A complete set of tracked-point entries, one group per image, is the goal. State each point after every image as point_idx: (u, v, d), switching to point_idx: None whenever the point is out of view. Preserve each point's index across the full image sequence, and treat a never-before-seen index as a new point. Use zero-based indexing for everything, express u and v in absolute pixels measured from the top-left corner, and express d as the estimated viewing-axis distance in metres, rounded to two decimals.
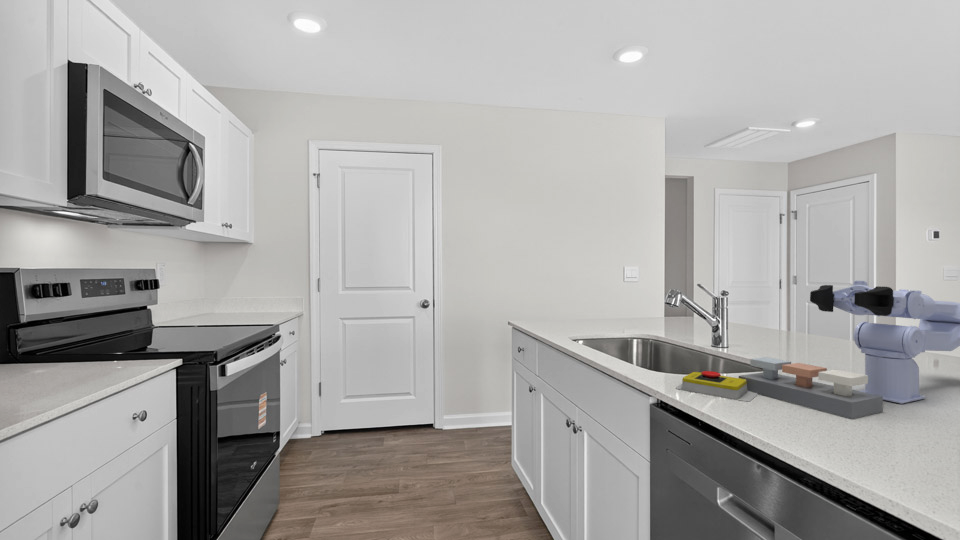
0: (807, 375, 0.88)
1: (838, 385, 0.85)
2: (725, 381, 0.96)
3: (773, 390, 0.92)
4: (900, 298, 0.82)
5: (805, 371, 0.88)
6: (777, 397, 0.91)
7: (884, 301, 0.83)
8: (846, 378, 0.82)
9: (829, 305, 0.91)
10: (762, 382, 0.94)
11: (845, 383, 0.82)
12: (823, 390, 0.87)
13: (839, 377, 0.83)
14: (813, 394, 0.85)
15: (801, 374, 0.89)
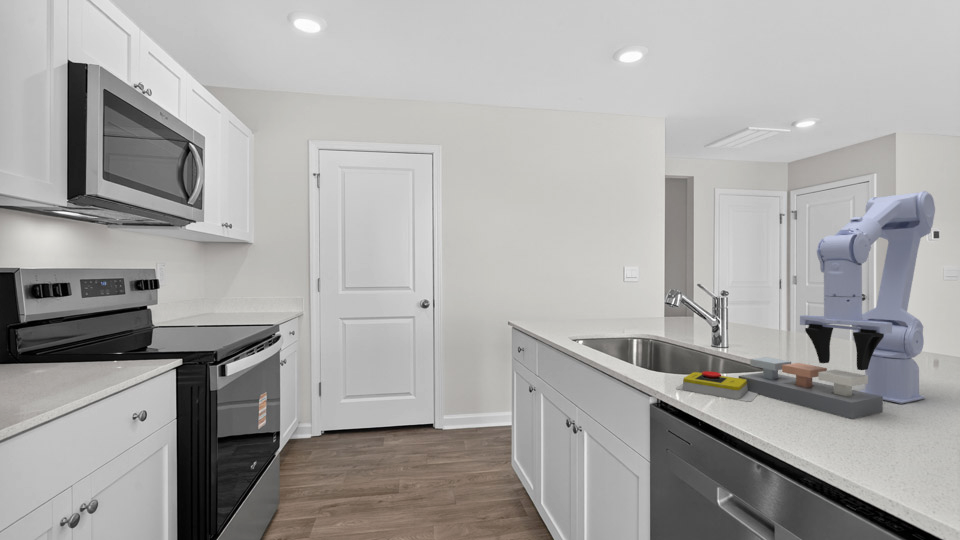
0: (807, 375, 0.88)
1: (838, 385, 0.85)
2: (726, 381, 0.96)
3: (773, 390, 0.92)
4: None
5: (805, 371, 0.88)
6: (777, 397, 0.91)
7: None
8: (846, 378, 0.82)
9: (829, 334, 0.88)
10: (762, 382, 0.94)
11: (845, 383, 0.82)
12: (823, 390, 0.87)
13: (839, 377, 0.83)
14: (813, 394, 0.85)
15: (801, 374, 0.89)
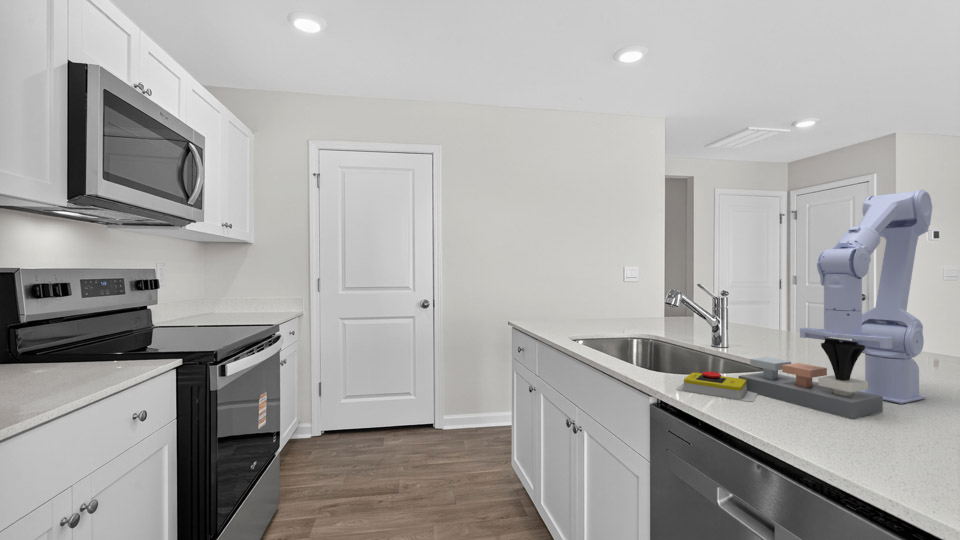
0: (807, 375, 0.88)
1: (838, 391, 0.85)
2: (726, 381, 0.96)
3: (773, 390, 0.92)
4: (886, 348, 0.78)
5: (805, 371, 0.88)
6: (777, 397, 0.91)
7: None
8: (846, 384, 0.82)
9: None
10: (762, 382, 0.94)
11: (845, 389, 0.82)
12: (823, 390, 0.87)
13: (839, 383, 0.83)
14: (813, 394, 0.85)
15: (801, 374, 0.89)
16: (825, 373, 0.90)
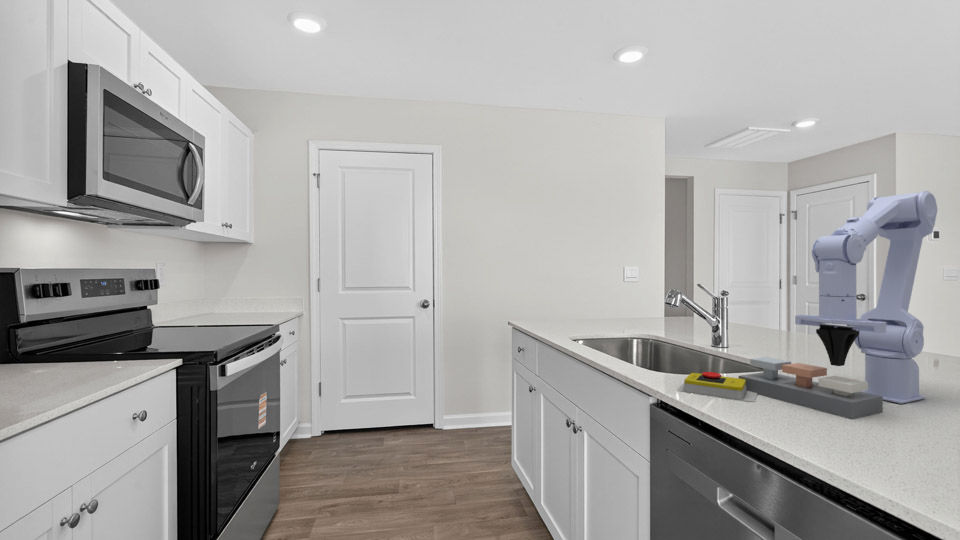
0: (807, 375, 0.88)
1: (838, 391, 0.85)
2: (727, 382, 0.95)
3: (773, 390, 0.92)
4: (880, 332, 0.79)
5: (805, 371, 0.88)
6: (777, 397, 0.91)
7: None
8: (846, 385, 0.82)
9: None
10: (762, 382, 0.94)
11: (845, 390, 0.82)
12: (823, 390, 0.87)
13: (839, 384, 0.83)
14: (813, 394, 0.85)
15: (801, 374, 0.89)
16: (825, 373, 0.90)
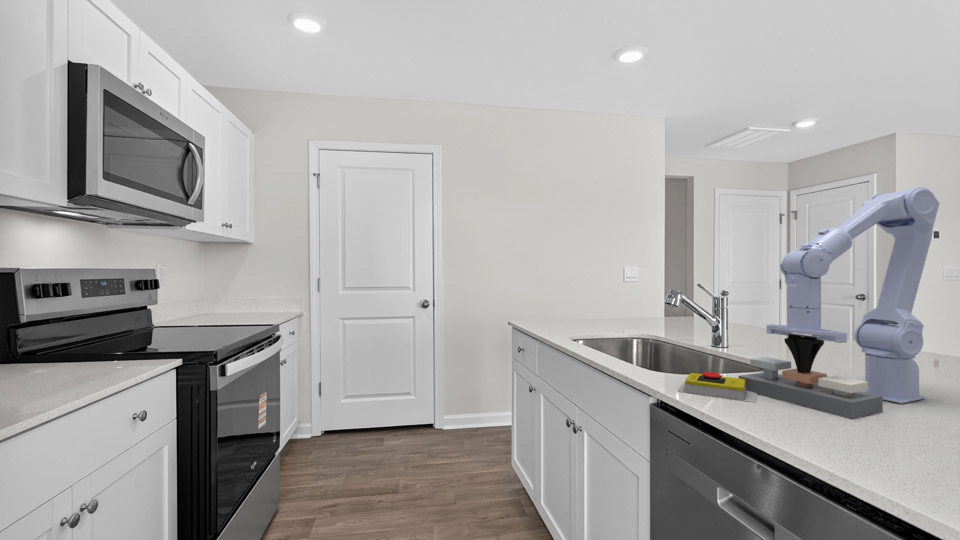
0: (807, 381, 0.88)
1: (838, 391, 0.85)
2: (727, 382, 0.95)
3: (773, 390, 0.92)
4: (841, 342, 0.84)
5: (806, 377, 0.88)
6: (777, 397, 0.91)
7: None
8: (846, 385, 0.82)
9: None
10: (762, 382, 0.94)
11: (845, 390, 0.82)
12: (823, 390, 0.87)
13: (839, 384, 0.83)
14: (813, 394, 0.85)
15: (801, 380, 0.89)
16: None
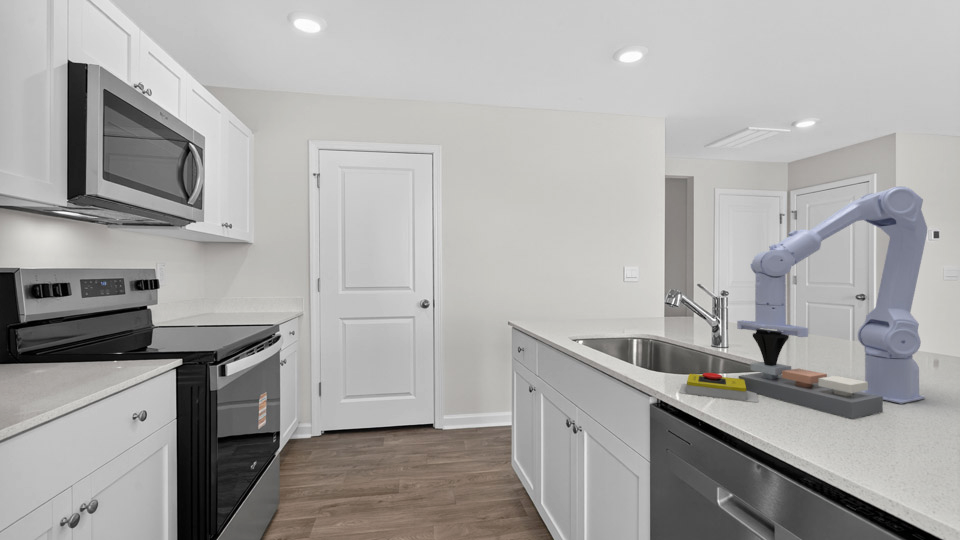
0: (807, 381, 0.88)
1: (838, 391, 0.85)
2: (728, 382, 0.95)
3: (773, 390, 0.92)
4: (802, 336, 0.91)
5: (806, 377, 0.88)
6: (777, 397, 0.91)
7: None
8: (846, 385, 0.82)
9: None
10: (762, 382, 0.94)
11: (845, 390, 0.82)
12: (823, 390, 0.87)
13: (839, 384, 0.83)
14: (813, 394, 0.85)
15: (801, 380, 0.89)
16: None
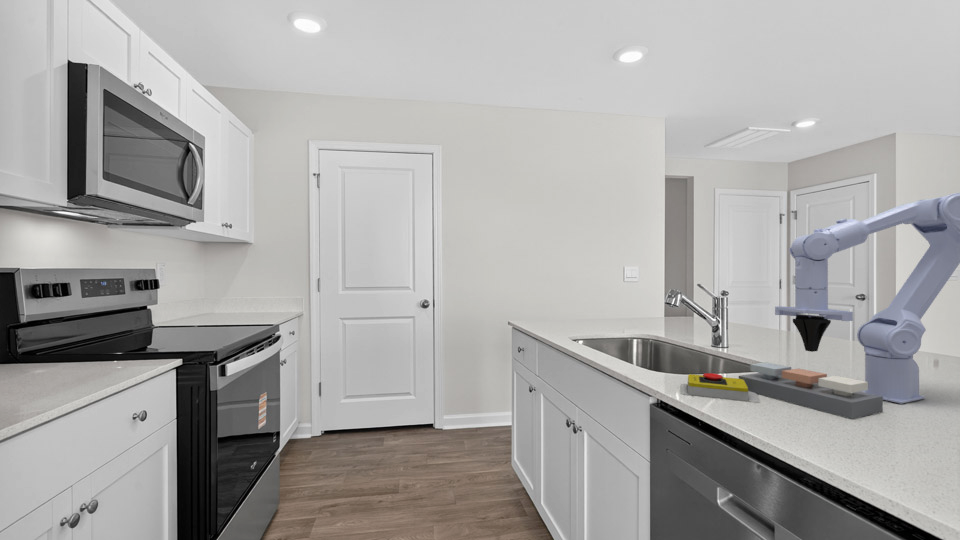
0: (807, 381, 0.88)
1: (838, 391, 0.85)
2: (729, 383, 0.94)
3: (773, 390, 0.92)
4: None
5: (806, 377, 0.88)
6: (777, 397, 0.91)
7: None
8: (846, 385, 0.82)
9: None
10: (762, 382, 0.94)
11: (845, 390, 0.82)
12: (823, 390, 0.87)
13: (839, 384, 0.83)
14: (813, 394, 0.85)
15: (801, 380, 0.89)
16: None
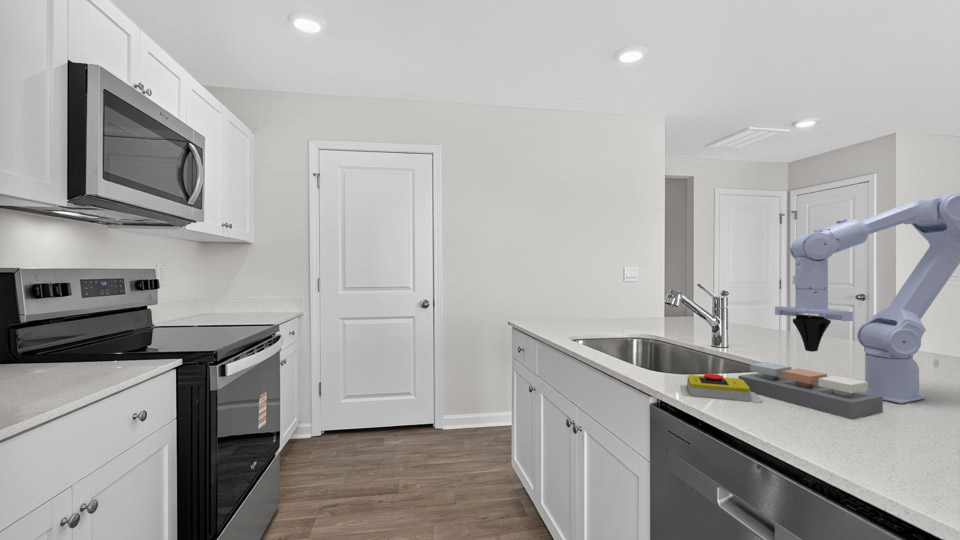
0: (807, 381, 0.88)
1: (838, 391, 0.85)
2: (730, 383, 0.94)
3: (773, 390, 0.92)
4: None
5: (806, 377, 0.88)
6: (777, 397, 0.91)
7: None
8: (846, 385, 0.82)
9: None
10: (762, 382, 0.94)
11: (845, 390, 0.82)
12: (823, 390, 0.87)
13: (839, 384, 0.83)
14: (813, 394, 0.85)
15: (801, 380, 0.89)
16: None
